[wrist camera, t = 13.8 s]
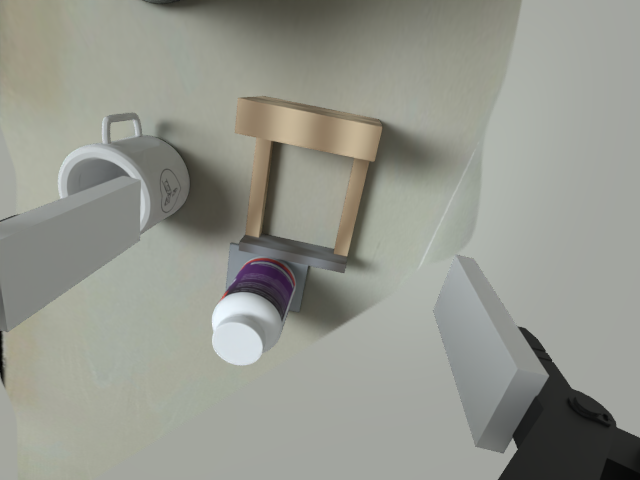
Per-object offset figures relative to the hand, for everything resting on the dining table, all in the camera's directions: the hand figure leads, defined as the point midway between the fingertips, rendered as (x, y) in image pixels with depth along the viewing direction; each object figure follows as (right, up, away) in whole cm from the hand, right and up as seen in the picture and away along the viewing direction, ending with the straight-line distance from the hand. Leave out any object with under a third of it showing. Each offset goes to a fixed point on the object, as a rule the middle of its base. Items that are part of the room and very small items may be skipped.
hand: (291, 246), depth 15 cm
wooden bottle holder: (-1, +6, +32) cm, 33 cm away
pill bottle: (-6, -5, +37) cm, 38 cm away
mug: (-21, +10, +33) cm, 41 cm away
